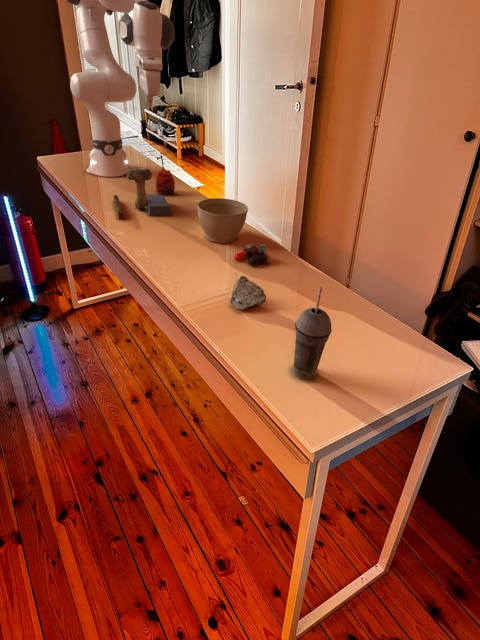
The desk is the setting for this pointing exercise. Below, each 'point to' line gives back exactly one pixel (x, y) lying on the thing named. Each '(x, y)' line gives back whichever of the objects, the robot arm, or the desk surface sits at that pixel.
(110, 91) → the robot arm
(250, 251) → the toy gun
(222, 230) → the planter bowl
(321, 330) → the beverage cup
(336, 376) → the desk surface
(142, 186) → the mushroom
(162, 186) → the red clay folk toy
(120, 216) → the ledge
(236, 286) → the rock sample
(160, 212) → the block
